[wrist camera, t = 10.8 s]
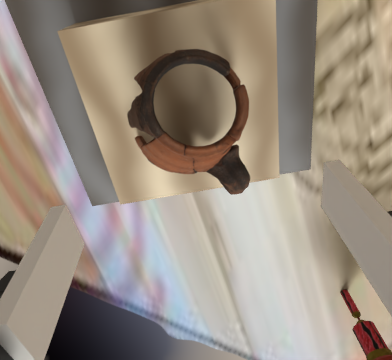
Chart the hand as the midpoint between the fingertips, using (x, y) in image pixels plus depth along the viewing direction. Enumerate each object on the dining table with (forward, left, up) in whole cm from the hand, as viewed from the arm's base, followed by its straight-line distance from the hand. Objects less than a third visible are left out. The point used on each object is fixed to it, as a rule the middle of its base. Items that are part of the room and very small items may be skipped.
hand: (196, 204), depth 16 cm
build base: (0, 0, -19) cm, 19 cm away
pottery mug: (0, 0, -13) cm, 13 cm away
